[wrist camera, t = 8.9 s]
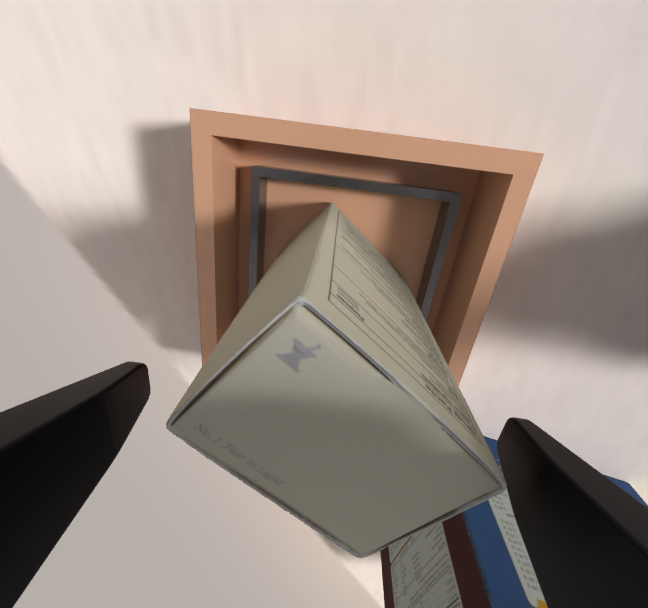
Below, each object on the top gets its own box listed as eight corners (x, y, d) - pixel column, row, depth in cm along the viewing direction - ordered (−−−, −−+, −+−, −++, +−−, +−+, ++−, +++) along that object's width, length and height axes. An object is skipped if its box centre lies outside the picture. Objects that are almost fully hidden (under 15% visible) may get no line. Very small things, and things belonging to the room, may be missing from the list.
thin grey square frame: (453, 190, 15) (462, 194, 14) (408, 354, 19) (412, 369, 18) (259, 165, 16) (251, 165, 14) (254, 331, 20) (247, 344, 18)
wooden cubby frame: (498, 154, 15) (544, 153, 12) (428, 376, 21) (444, 423, 17) (227, 119, 16) (189, 108, 12) (229, 347, 21) (203, 387, 17)
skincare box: (275, 256, 18) (144, 423, 7) (334, 196, 16) (292, 282, 5) (354, 331, 19) (355, 569, 8) (414, 283, 18) (519, 496, 6)
